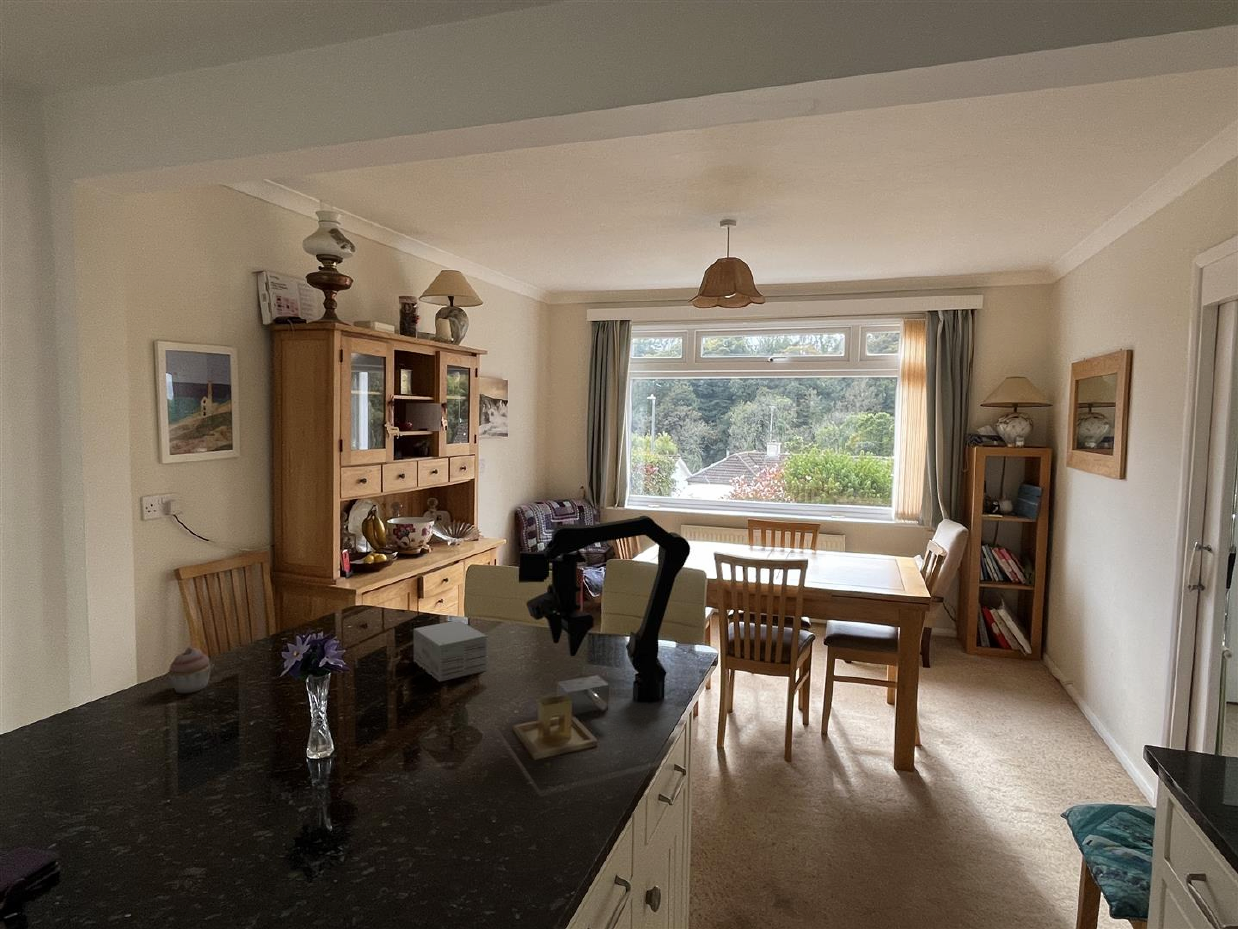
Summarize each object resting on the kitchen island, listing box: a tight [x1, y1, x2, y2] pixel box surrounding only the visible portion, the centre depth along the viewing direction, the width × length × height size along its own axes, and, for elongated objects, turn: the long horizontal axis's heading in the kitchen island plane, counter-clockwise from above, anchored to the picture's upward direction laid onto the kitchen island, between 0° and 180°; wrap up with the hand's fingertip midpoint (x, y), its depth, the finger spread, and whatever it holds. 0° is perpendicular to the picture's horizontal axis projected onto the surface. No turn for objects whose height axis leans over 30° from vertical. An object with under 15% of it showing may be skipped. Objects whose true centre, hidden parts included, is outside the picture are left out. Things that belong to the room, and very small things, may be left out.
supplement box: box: [413, 620, 488, 683], centre depth 172 cm, size 17×13×9 cm
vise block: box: [556, 674, 610, 716], centre depth 145 cm, size 11×14×6 cm
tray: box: [512, 714, 598, 761], centre depth 134 cm, size 13×13×2 cm
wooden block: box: [537, 695, 572, 744], centre depth 133 cm, size 6×3×8 cm, turn 117°
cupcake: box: [166, 646, 215, 694], centre depth 155 cm, size 9×9×10 cm
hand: (564, 649), depth 150 cm, fingers open, 9 cm apart
